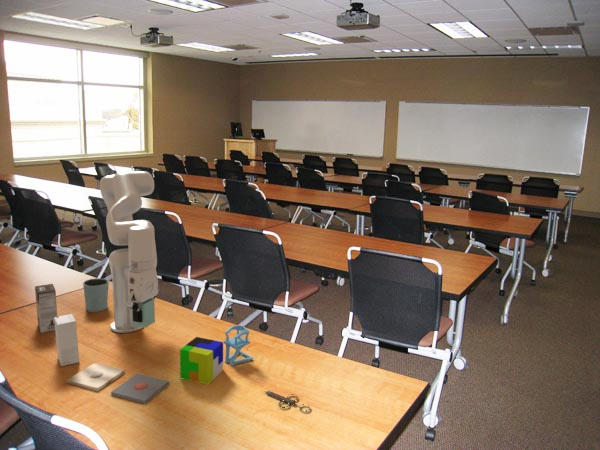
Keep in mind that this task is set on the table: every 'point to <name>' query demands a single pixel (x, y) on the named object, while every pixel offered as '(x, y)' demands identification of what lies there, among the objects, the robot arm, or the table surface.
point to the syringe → (283, 398)
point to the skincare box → (66, 339)
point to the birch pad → (95, 376)
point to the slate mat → (140, 388)
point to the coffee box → (46, 307)
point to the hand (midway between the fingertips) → (143, 317)
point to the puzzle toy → (201, 360)
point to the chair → (237, 344)
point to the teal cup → (96, 294)
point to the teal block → (146, 314)
